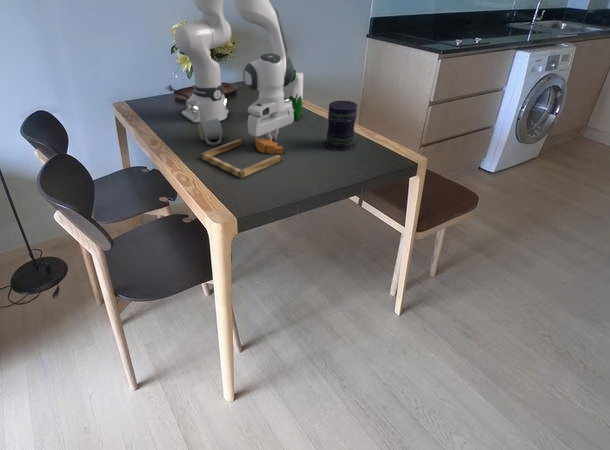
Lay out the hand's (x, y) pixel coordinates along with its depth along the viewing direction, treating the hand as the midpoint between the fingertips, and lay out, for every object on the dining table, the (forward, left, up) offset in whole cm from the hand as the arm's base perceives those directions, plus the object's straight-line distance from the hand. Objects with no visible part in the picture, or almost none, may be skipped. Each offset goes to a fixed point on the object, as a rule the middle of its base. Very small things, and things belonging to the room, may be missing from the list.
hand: (272, 141), depth 152 cm
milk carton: (-17, +29, -2) cm, 33 cm away
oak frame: (0, -15, -2) cm, 16 cm away
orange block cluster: (0, -4, -2) cm, 4 cm away
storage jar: (+17, +19, -2) cm, 25 cm away
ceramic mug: (-21, -11, -2) cm, 24 cm away
